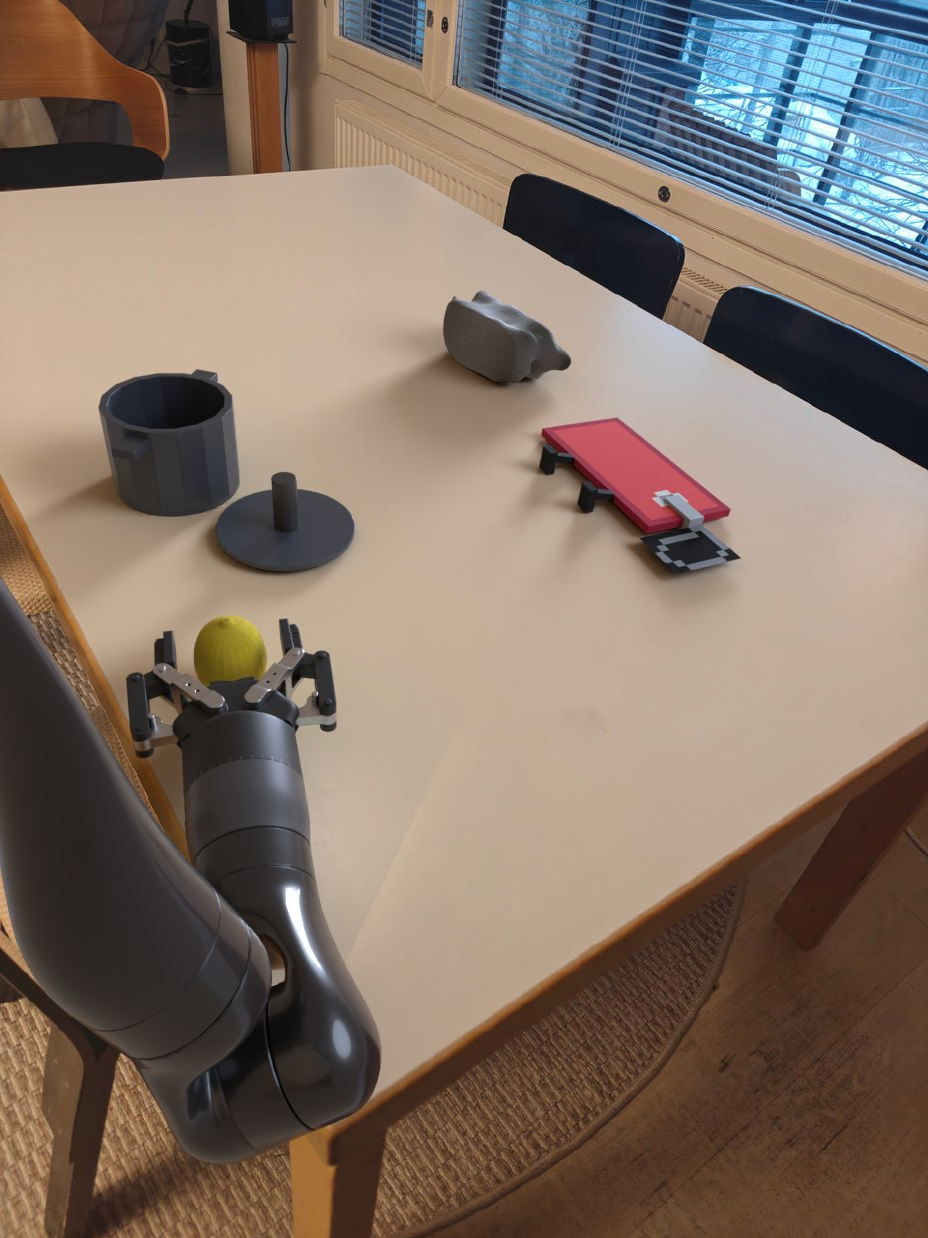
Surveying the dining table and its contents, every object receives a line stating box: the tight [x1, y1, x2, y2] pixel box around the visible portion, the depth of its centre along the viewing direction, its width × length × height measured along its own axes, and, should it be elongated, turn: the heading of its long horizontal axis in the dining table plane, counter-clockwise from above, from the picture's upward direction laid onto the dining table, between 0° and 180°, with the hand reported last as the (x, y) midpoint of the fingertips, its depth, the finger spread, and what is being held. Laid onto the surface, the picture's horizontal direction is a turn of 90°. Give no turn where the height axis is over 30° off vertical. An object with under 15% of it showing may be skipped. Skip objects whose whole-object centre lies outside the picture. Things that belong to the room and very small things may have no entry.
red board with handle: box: [538, 417, 742, 575], centre depth 97 cm, size 30×3×15 cm
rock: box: [442, 290, 572, 383], centre depth 119 cm, size 18×11×8 cm, turn 40°
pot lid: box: [215, 471, 356, 572], centre depth 84 cm, size 14×14×7 cm
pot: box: [97, 368, 241, 517], centre depth 89 cm, size 13×18×10 cm
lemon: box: [193, 614, 268, 687], centre depth 67 cm, size 6×6×8 cm
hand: (227, 632), depth 66 cm, fingers open, 8 cm apart
